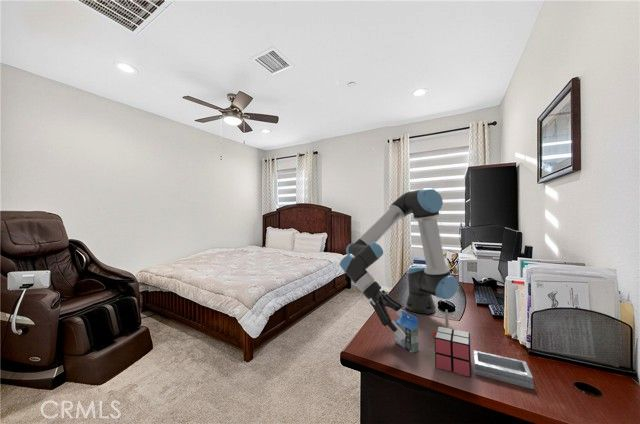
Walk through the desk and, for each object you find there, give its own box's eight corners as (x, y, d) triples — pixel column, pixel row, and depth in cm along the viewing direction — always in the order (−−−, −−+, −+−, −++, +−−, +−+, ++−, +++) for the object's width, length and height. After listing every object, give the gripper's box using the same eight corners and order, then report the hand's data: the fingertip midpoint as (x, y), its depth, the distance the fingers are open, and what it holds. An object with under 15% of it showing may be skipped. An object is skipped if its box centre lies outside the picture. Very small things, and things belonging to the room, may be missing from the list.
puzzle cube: (471, 378, 73) (469, 345, 74) (435, 368, 79) (434, 337, 79) (470, 361, 82) (469, 332, 82) (438, 353, 87) (437, 325, 88)
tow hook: (430, 333, 103) (437, 343, 94) (429, 303, 104) (435, 310, 95) (451, 335, 102) (460, 345, 93) (449, 304, 103) (458, 310, 94)
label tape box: (394, 342, 96) (394, 311, 96) (402, 340, 97) (401, 309, 98) (411, 353, 88) (410, 319, 88) (419, 351, 89) (418, 317, 90)
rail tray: (473, 358, 84) (473, 349, 84) (525, 370, 77) (525, 360, 77) (475, 374, 75) (475, 364, 75) (533, 389, 68) (533, 378, 68)
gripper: (372, 284, 112) (406, 323, 104) (351, 300, 91) (392, 351, 83) (383, 274, 110) (419, 313, 102) (364, 288, 88) (407, 339, 80)
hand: (407, 330), depth 92 cm, fingers open, 13 cm apart
